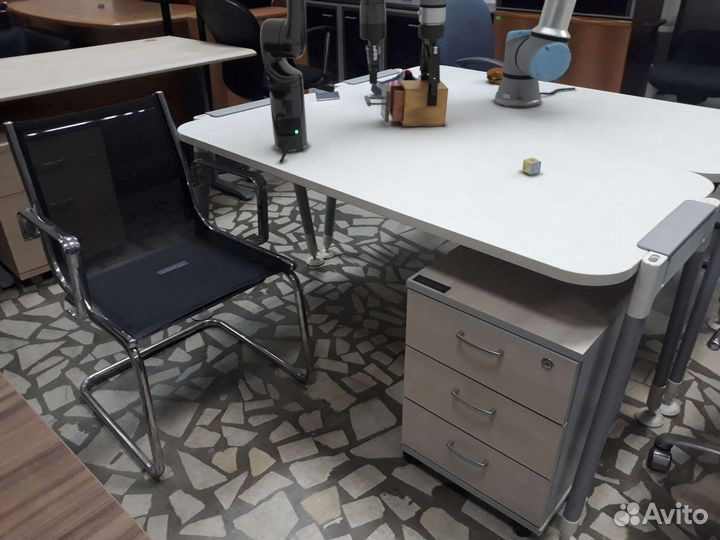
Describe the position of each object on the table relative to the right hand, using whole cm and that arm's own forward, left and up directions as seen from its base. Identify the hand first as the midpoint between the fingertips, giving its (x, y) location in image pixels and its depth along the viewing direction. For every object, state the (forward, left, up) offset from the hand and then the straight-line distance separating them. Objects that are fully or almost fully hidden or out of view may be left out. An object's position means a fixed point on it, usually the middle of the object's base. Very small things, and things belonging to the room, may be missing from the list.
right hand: (428, 101), depth 174 cm
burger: (-54, -26, -6) cm, 60 cm away
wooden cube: (+2, -1, -6) cm, 6 cm away
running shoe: (-8, -27, -6) cm, 29 cm away
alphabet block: (+5, +49, -6) cm, 49 cm away
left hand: (+15, -7, +6) cm, 18 cm away
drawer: (+10, -5, -5) cm, 12 cm away
